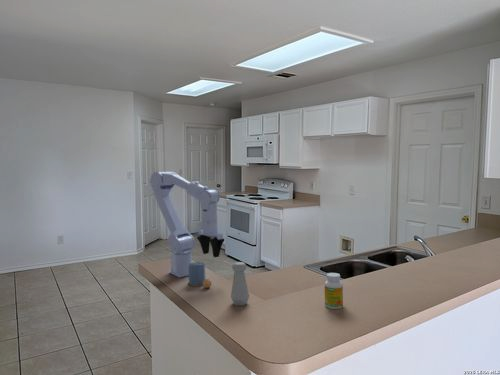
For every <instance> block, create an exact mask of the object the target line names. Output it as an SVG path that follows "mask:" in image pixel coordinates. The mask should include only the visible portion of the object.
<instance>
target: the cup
mask: <svg viewBox="0 0 500 375" xmlns="http://www.w3.org/2000/svg"><path fill="white" fill-rule="evenodd" d="M188 267H189V275H188V282H189V284H191V285H200V284H203V281H204V280H205V279H207V278H206V277H207V276H206V264H205V262H202V261H195V262H194V261H193V262H192V263H190V264H189V266H188Z"/></svg>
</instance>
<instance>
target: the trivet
mask: <svg viewBox="0 0 500 375" xmlns="http://www.w3.org/2000/svg"><path fill="white" fill-rule="evenodd" d="M187 285H188V286H189V287H204V286H203V284H200V285H191V284H189V281H188V282H187Z"/></svg>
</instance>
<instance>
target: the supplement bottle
mask: <svg viewBox="0 0 500 375" xmlns="http://www.w3.org/2000/svg"><path fill="white" fill-rule="evenodd" d="M343 285H344V284H343V281H341V275H340V273H337V272H327V274H326V280H325V282H324V306H325V307H326V308H327V309H332V310H339V309H342V308H343V307H344V301H343V300H344V293H343V292H344V286H343Z"/></svg>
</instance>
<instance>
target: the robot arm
mask: <svg viewBox="0 0 500 375" xmlns="http://www.w3.org/2000/svg"><path fill="white" fill-rule="evenodd" d="M149 183H150V186H151V188H152V190H153V194H154V199H155V201H156V203H157V205H158V207H159V209H160V212H161V215H162V218H163V219H164V221H165V223H166V226H167V228H168V230H169V232H170V234H169V235H168V237H167V241H168V246H169V250H170V252H171V255H170V270H169V271H168V273H169V274H171V275H173V276H176V277H177V278H183V277H187V276H188V277H189V267H188V266H189V264H190V263H193V257H192V256H193V255H192V254H193V253H192V252H193V250H194V248H195V246H196V239H197V241H198V242H199V245H200V247H201V250H202V254H203V255H206V254H209V253H210V245H211V249H212V255H213V258H218V257H219V258H220V254H221V249H222V246H223V244H224V242H225V238H224V234H223V233H222V232H220V231H219V230H218V205H217V204H218V202H219V201H220V199H221V198H220V193H219V191H218V190H217V189H216V188H211V189H210V188H209V187H208V186H206V185H205V186H204V185H202V184H201V183H200V181H191V182H190V181H189V180H187V179H185V178H184V177H182V176H181V175H178V173H177V172H174V171H172V170H171V171H170V170H169V171H153V172H152V174H151V176H150V178H149ZM174 186H177V187H179V188H182V189H183V190H186V193H187V195H189V196H191V197H192V198H194V199H196V200H198V202H199V203H200V208H201V210H202V212H201V214H202V217H201V218H202V229H198V236H197V237H196V239H195V238H194V235H192V234H191V232H190V230H188V229H186V228H185V227H183V224H182V222H181V220H180V217H179V216H178V213H177V211H176V209H175V207H174V204H173V203H172V200H171V197H170V192H172V191H173V188H174Z"/></svg>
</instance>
